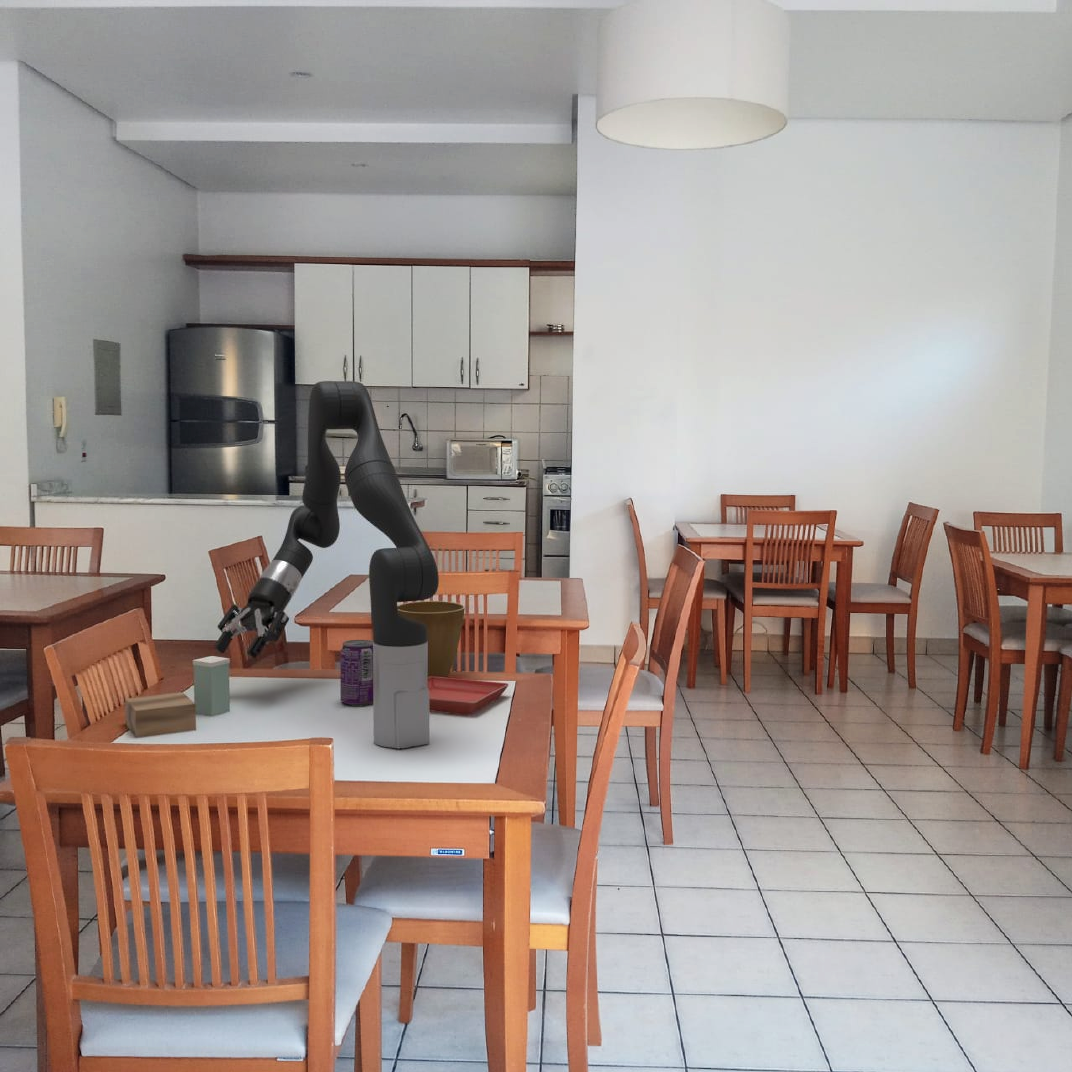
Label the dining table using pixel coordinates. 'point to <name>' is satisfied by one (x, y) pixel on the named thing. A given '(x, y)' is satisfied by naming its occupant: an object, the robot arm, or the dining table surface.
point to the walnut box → (160, 714)
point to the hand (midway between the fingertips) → (234, 653)
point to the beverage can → (356, 672)
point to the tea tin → (211, 685)
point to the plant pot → (438, 631)
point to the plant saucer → (462, 694)
